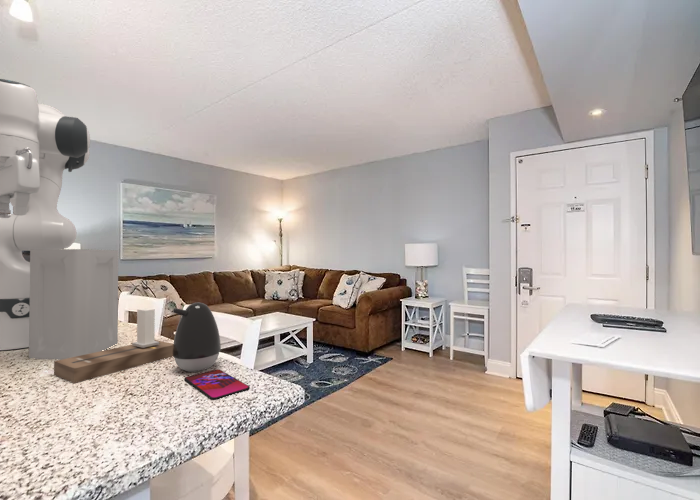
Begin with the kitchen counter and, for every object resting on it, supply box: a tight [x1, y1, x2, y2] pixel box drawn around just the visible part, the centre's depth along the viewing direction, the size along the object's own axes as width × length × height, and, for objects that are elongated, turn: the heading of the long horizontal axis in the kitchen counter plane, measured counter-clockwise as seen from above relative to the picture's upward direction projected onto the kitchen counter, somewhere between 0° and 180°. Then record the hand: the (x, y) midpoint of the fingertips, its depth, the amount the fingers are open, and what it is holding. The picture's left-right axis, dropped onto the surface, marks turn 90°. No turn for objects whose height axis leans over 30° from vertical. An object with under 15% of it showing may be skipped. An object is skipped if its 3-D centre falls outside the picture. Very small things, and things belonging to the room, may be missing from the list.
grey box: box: [28, 248, 119, 360], centre depth 92 cm, size 19×15×28 cm
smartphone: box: [184, 368, 251, 401], centre depth 68 cm, size 8×1×15 cm
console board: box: [53, 339, 174, 384], centre depth 81 cm, size 22×10×3 cm, turn 150°
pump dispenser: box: [172, 302, 222, 373], centre depth 78 cm, size 10×10×15 cm
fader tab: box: [131, 308, 159, 348], centre depth 87 cm, size 4×5×9 cm
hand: (11, 216), depth 74 cm, fingers open, 8 cm apart
